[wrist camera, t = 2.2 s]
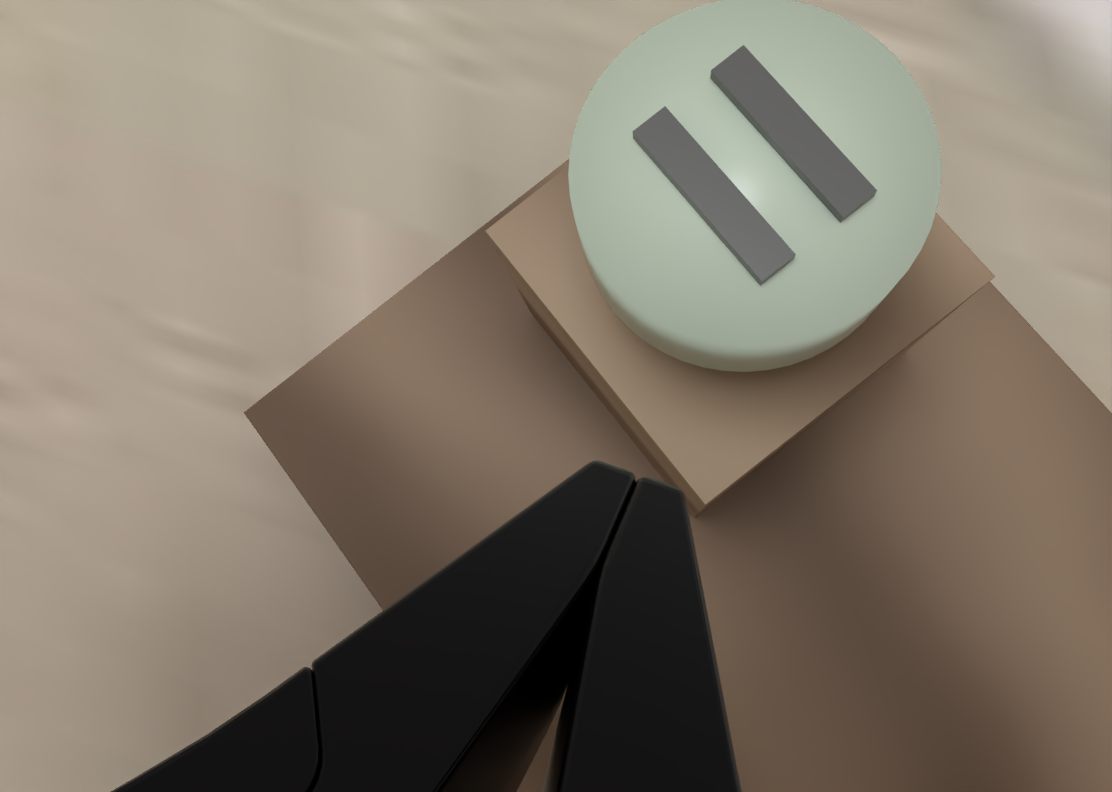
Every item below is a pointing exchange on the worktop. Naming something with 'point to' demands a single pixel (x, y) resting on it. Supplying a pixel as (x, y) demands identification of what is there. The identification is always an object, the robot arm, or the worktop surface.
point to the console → (760, 500)
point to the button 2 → (752, 182)
